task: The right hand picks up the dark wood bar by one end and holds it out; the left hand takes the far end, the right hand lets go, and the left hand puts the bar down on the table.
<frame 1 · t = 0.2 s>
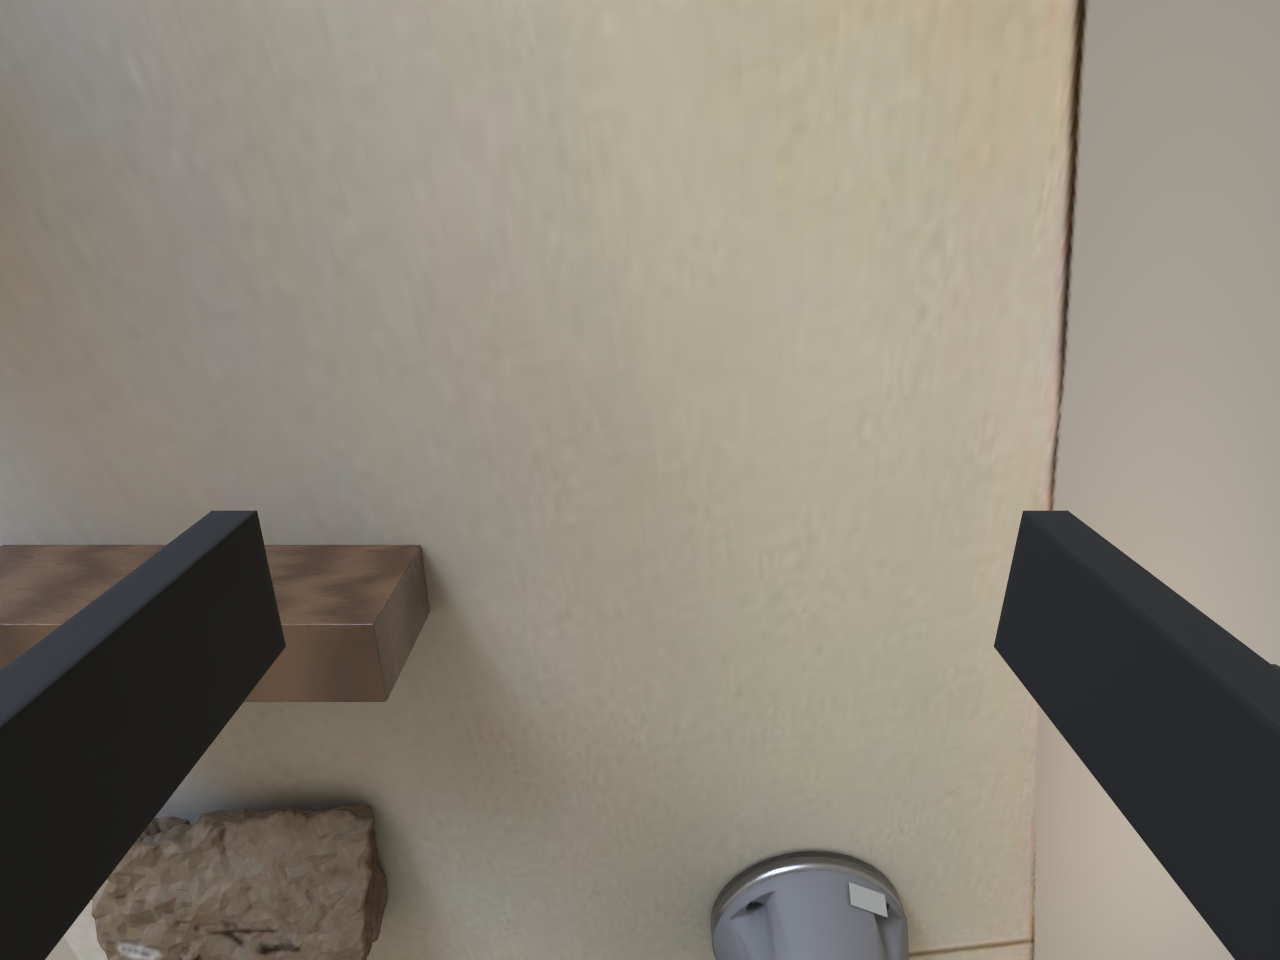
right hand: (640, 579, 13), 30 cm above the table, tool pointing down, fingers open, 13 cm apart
bar: (220, 579, 47), on the table
stone: (255, 854, 56), on the table
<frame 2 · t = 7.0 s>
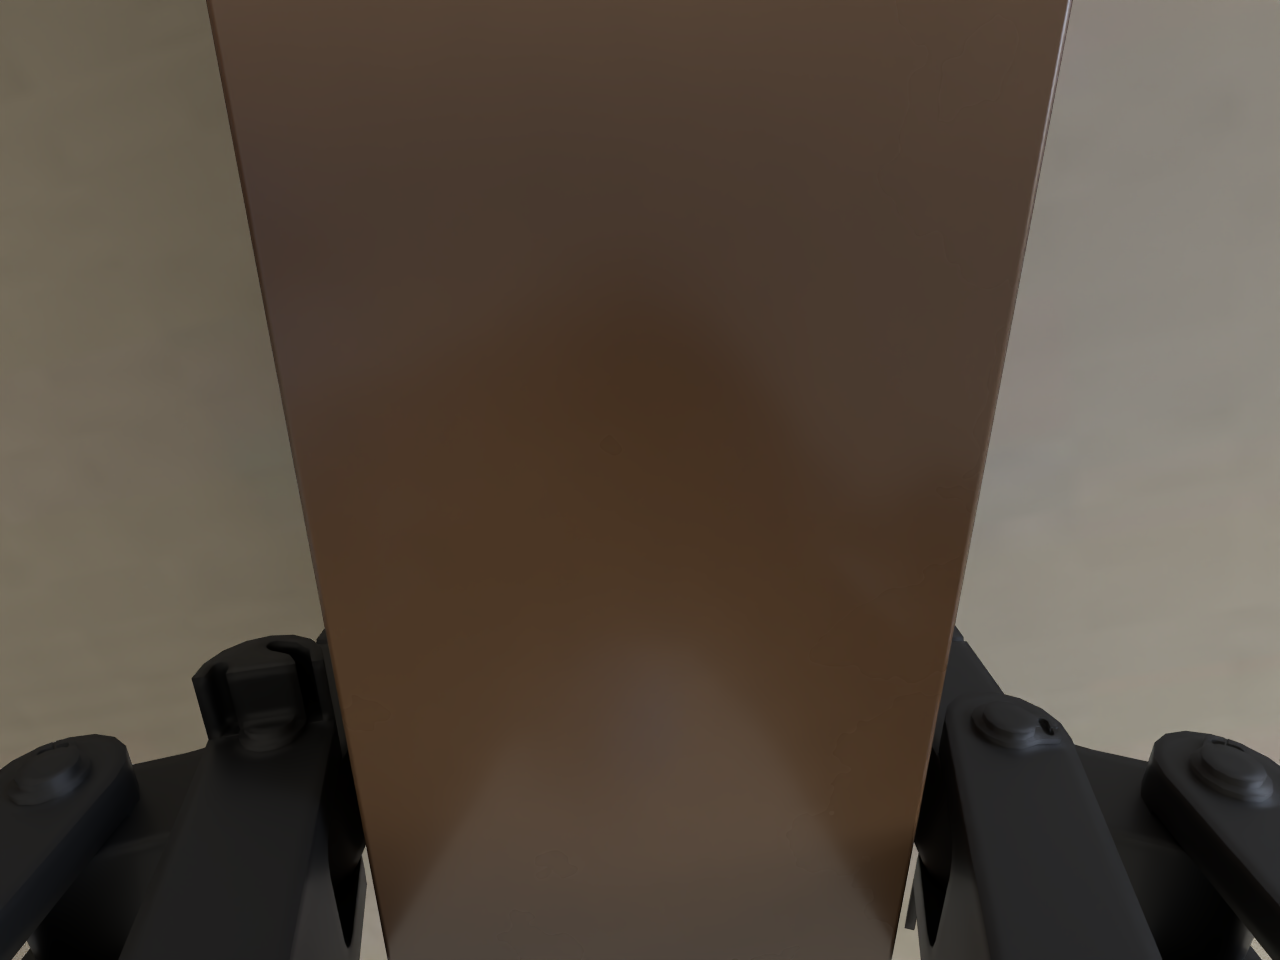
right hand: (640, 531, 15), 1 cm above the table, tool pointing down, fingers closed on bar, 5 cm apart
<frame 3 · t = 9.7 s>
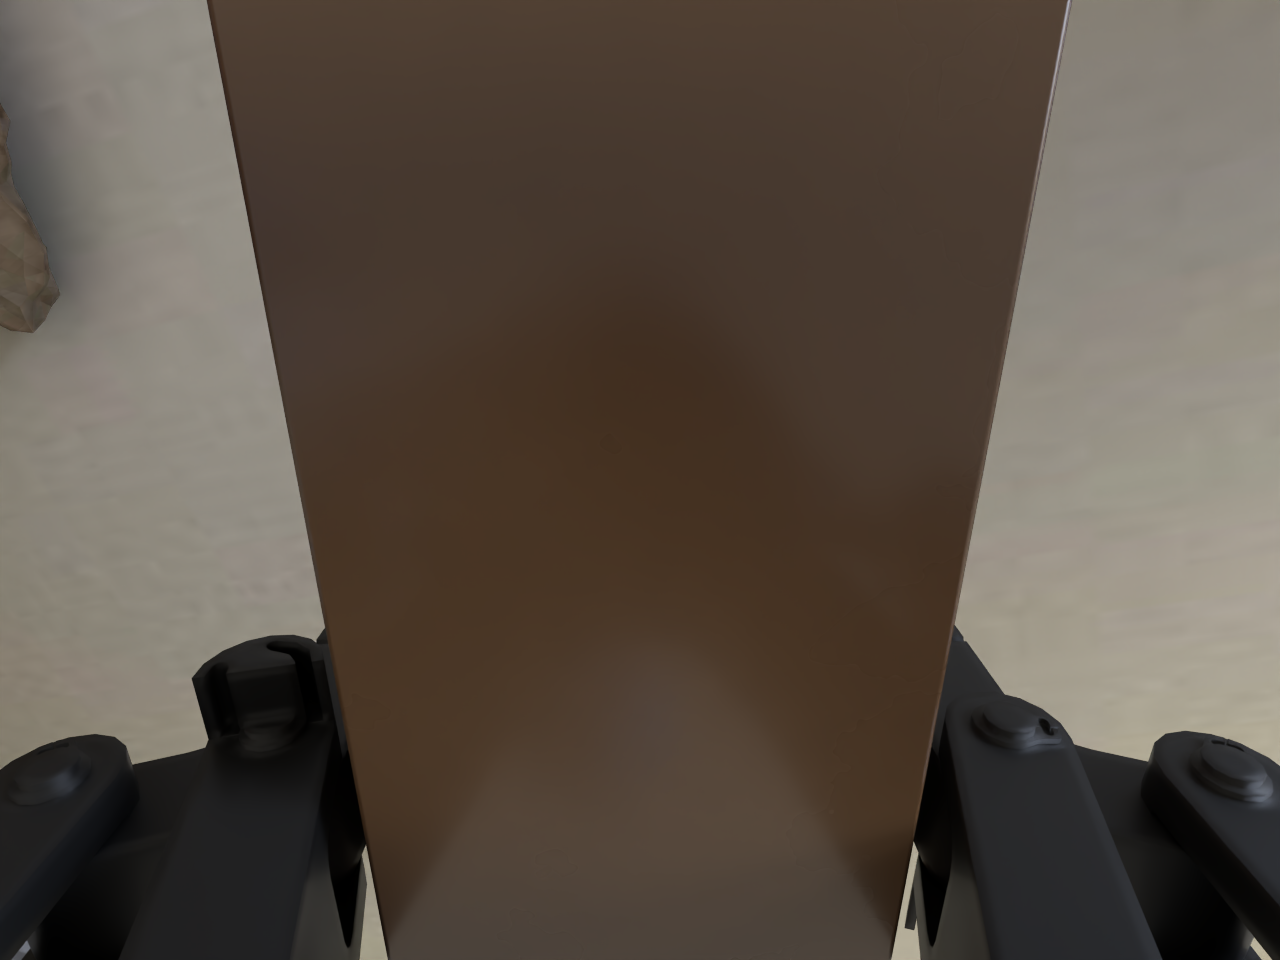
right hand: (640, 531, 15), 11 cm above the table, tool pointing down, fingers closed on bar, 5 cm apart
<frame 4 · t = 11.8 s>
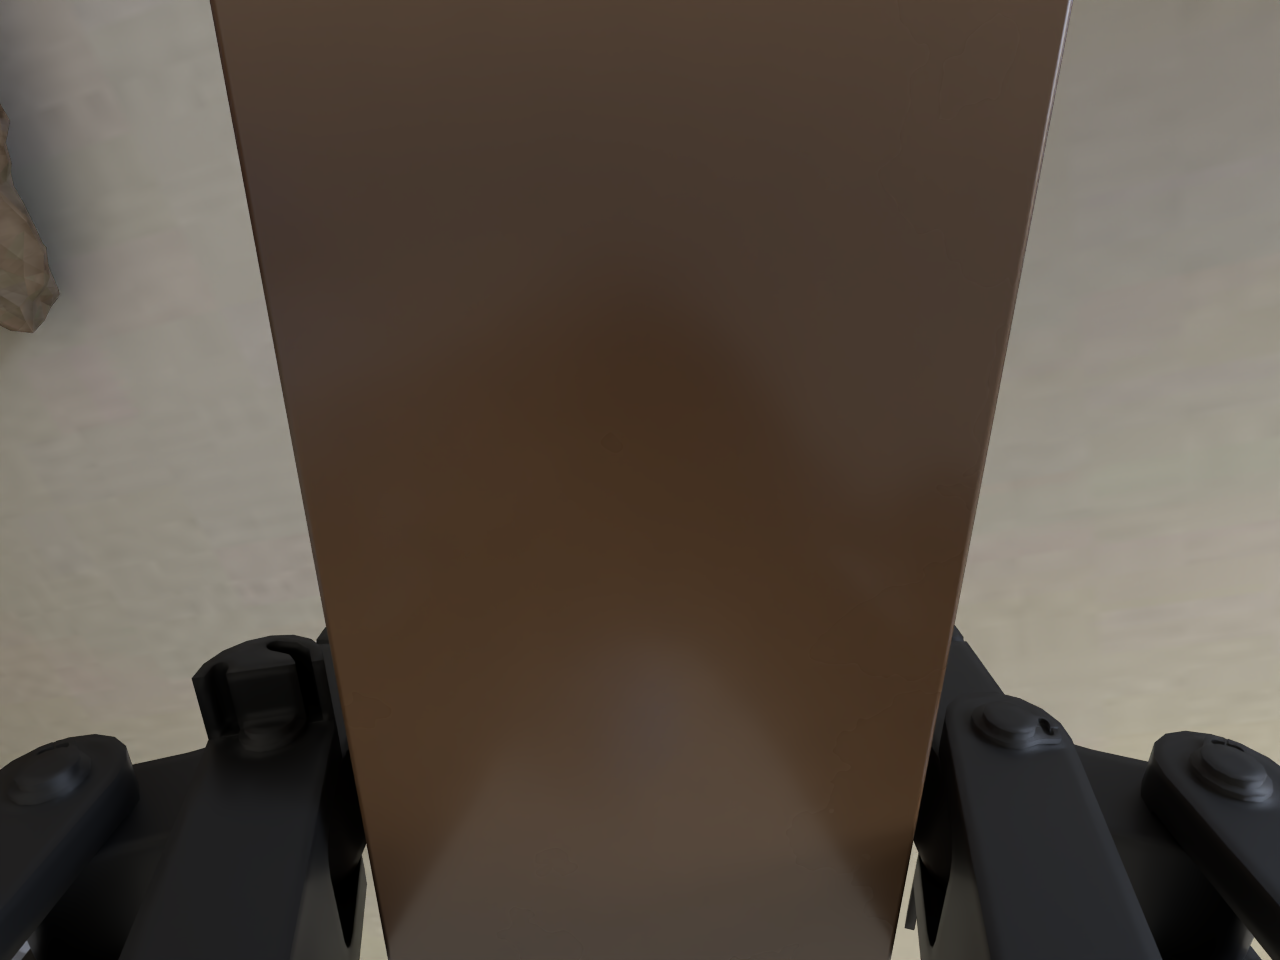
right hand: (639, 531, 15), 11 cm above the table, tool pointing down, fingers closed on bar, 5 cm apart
when the right hand's fingers open (11 cm above the table, at t = 12.3 s): bar stays where it is, held by the left hand.
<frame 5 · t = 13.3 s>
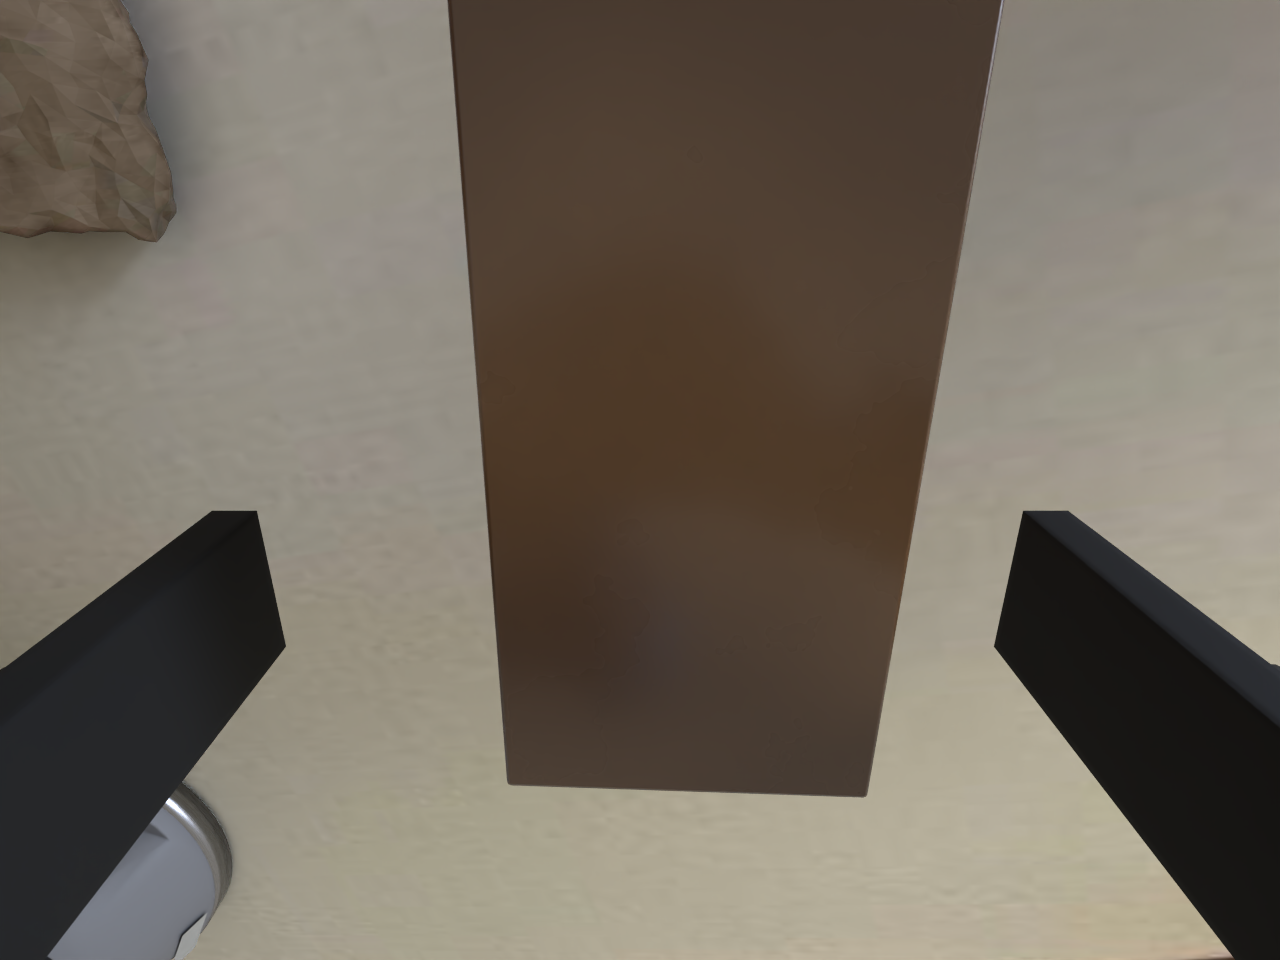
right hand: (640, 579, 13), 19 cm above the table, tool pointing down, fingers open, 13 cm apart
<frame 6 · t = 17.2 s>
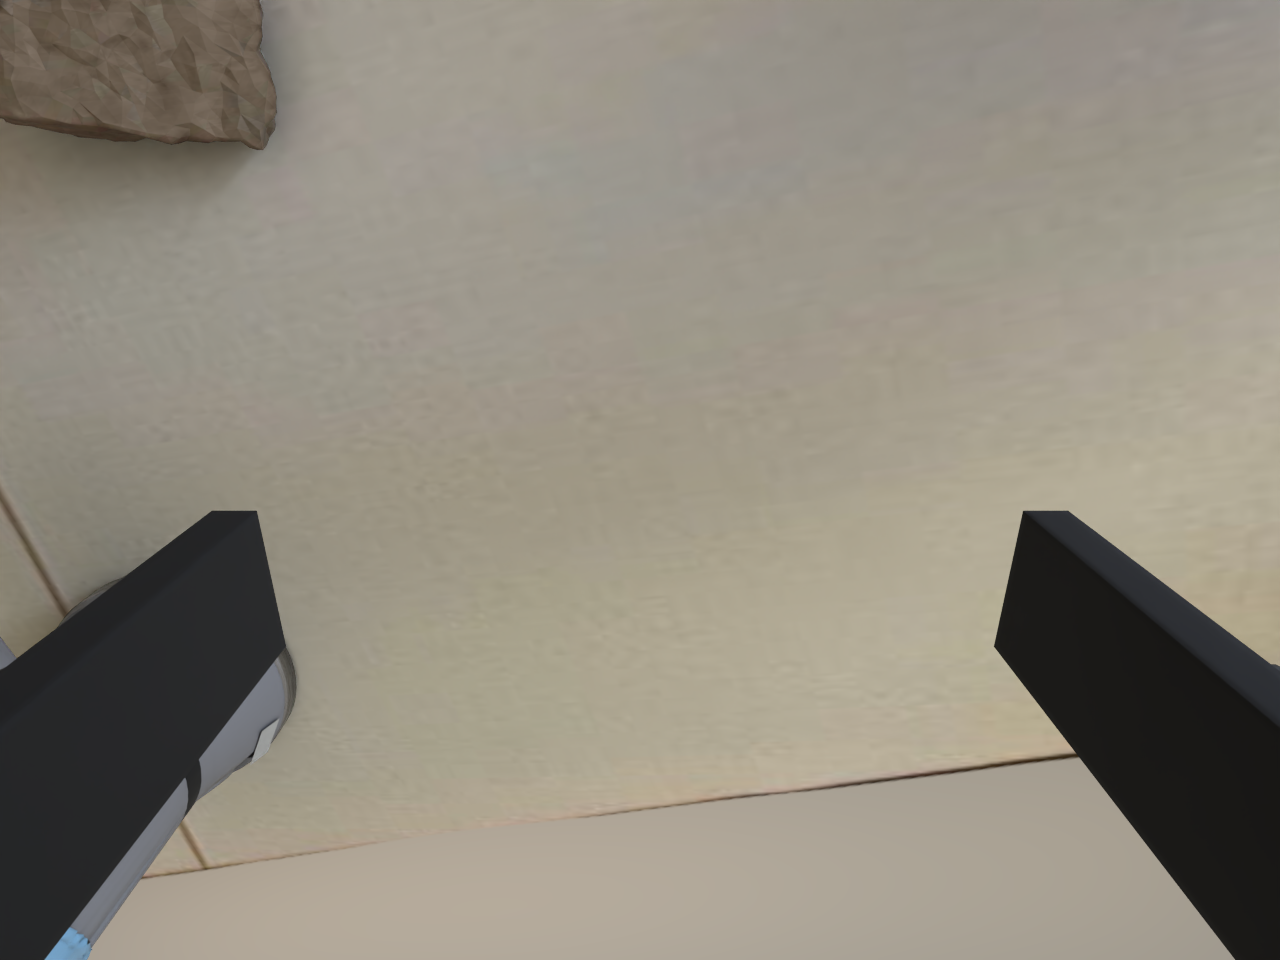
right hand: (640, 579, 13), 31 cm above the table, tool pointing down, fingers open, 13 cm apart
when the left hand's fingers open (2 cm above the table, at t = 22.6 s): bar drops 1 cm, on the table.
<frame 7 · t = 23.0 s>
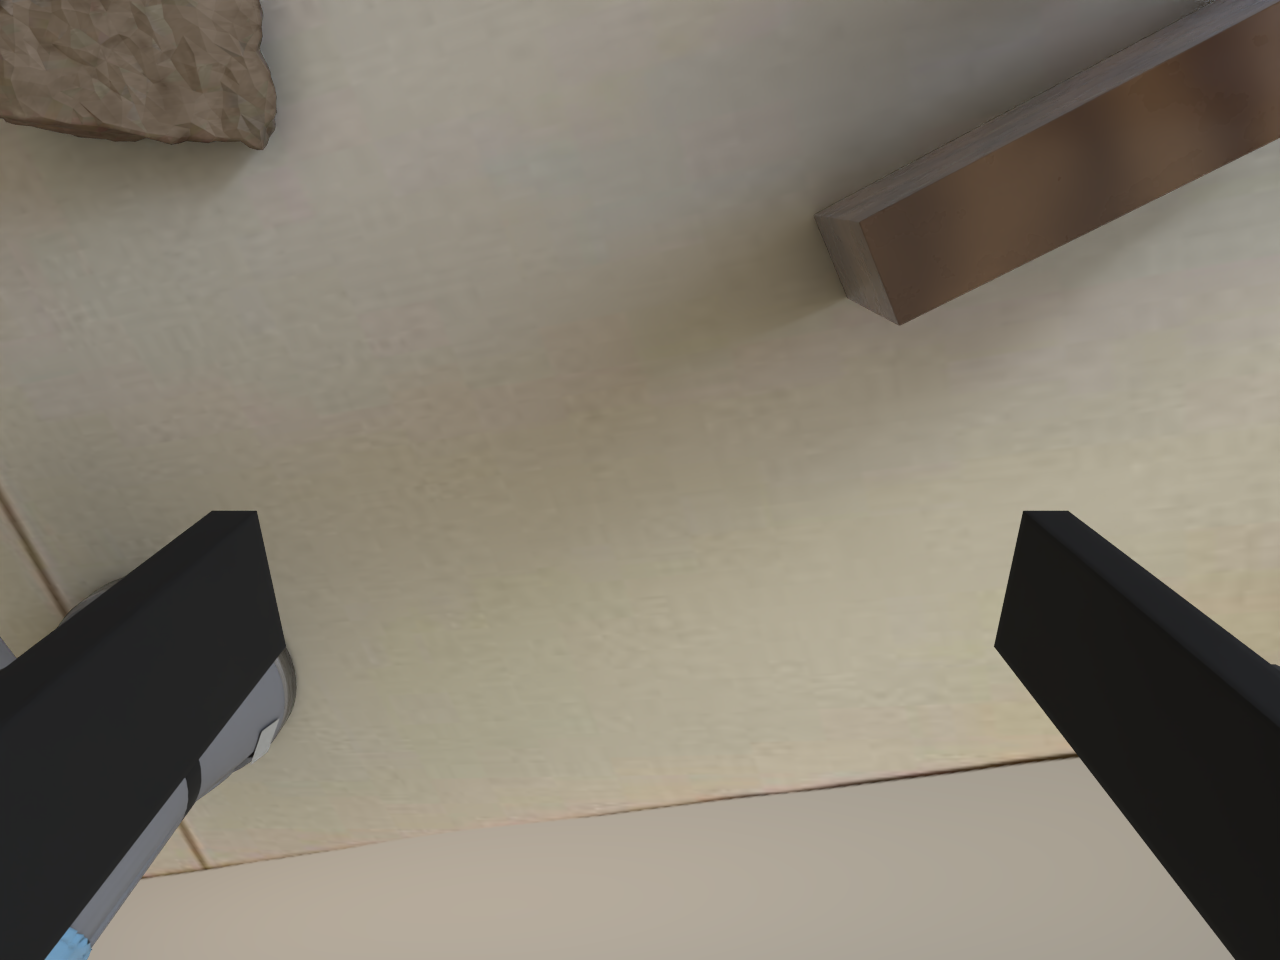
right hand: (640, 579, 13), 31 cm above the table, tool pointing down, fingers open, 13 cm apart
bar: (1066, 134, 38), on the table
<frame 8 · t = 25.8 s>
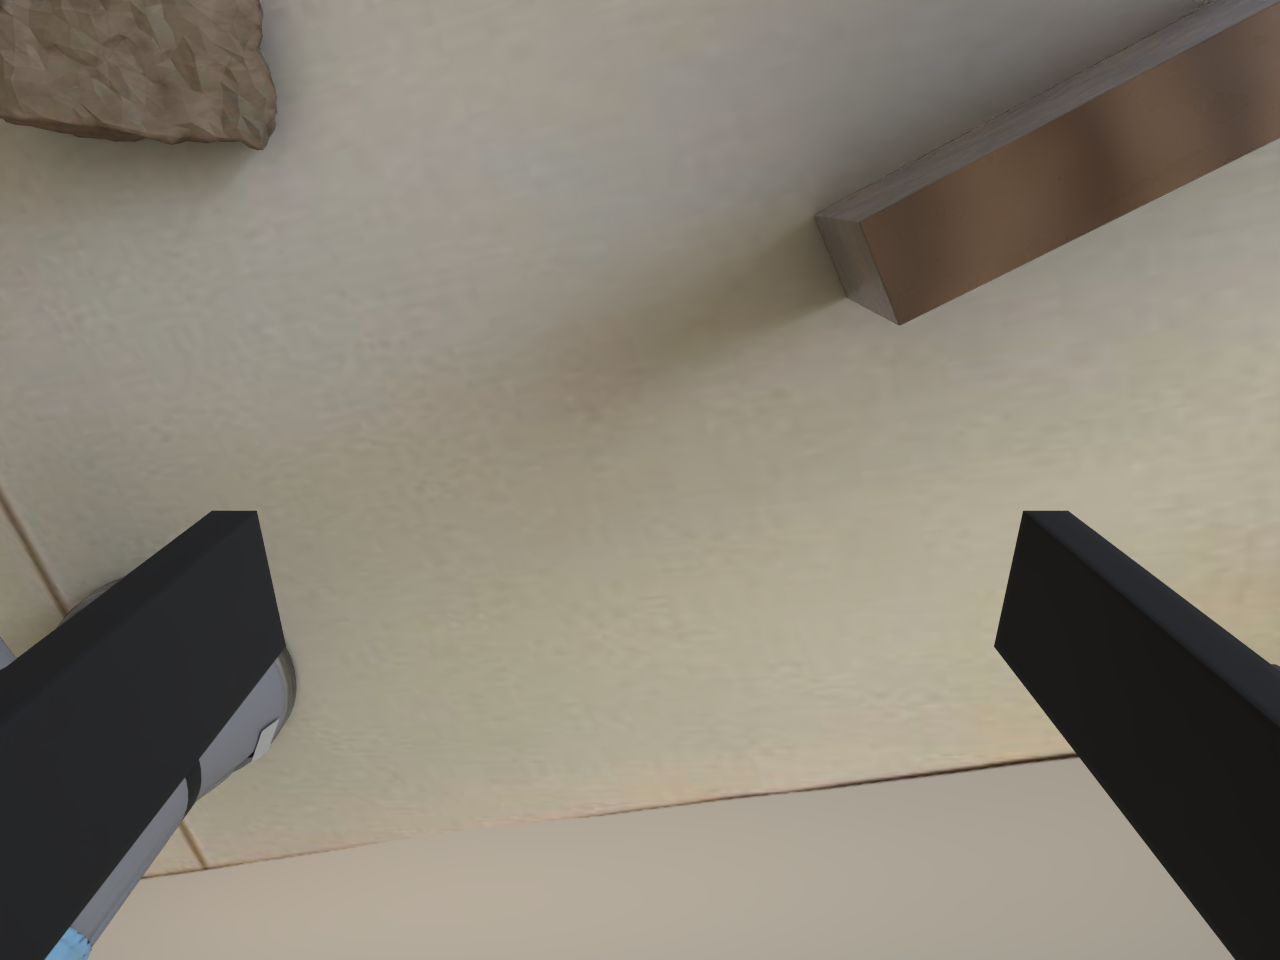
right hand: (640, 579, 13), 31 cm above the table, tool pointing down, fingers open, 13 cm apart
bar: (1066, 134, 38), on the table
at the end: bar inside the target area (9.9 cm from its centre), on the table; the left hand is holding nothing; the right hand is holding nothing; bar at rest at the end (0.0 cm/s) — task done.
